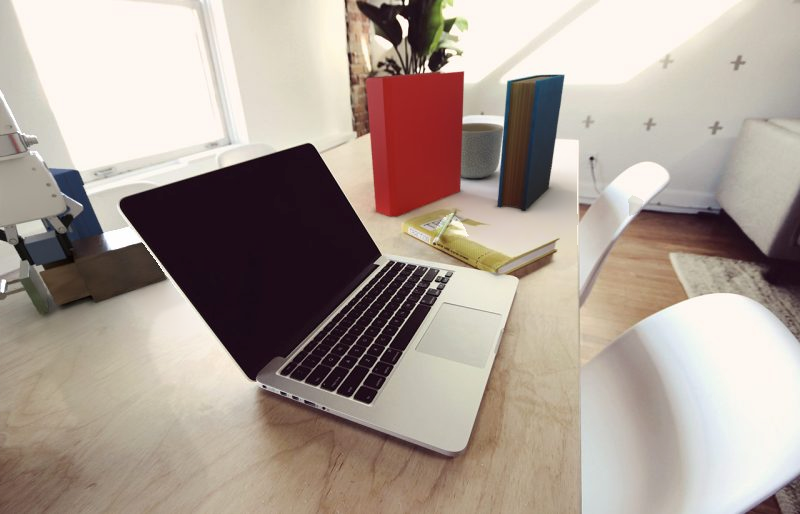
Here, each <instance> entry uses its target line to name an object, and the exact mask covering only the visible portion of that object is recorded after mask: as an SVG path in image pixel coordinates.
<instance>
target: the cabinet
mask: <svg viewBox="0 0 800 514" xmlns="http://www.w3.org/2000/svg"><path fill="white" fill-rule="evenodd" d="M130 227H131V226H127V227H123V228H119V229H115V230H111V231H107V232H104V233H103V234H99V235H95V236H91V237H87V238H83V239H79V240H75V241H71V242H72V245H73V247H74V248H71V249H72V253H73V257H74V261H75V263H76V265H77V267H78V269H79V271H80V273H81V275H82V277H83V279H84V281H85V283H86V285H87V287H88V289H89V291H90V293H91V295H90V296H91V298H92V299H93V302H94V303H98V302H101V301H104V300H107V299H111V298H113V297H116V296H119V295H122V294H125V293H128V292H131V291H134V290H137V289H141V288H143V287H146V286H150V285H153V284H155V283H159V282H161V281H164V280H167V276H166V274H164V273H165V271H164V272H163V271H162V269H161V268H160V266H159V265H158V263H157V262H156V260H155V259H154V258H153V256H152V255H151V254H150V252H149V251H148V250H147V248H146V247H145V245H144V244H143V243H142V242H141V240H140V239H139V238H138V236H137V235H136V234H135V232H134V231H133V230H132V229H131V228H130Z"/></svg>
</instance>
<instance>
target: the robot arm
mask: <svg viewBox="0 0 800 514" xmlns="http://www.w3.org/2000/svg"><path fill="white" fill-rule="evenodd" d="M1 90H2V89H0V241H2V242H4V243H8V245H11V246H13V248H14V250H15V251H16V253H17V254H18V256H19V258H20V260H22V261H25V260H27V261H28V262H29V264H30V266H32V265H33V266H36V265H35V263H34V261H33V259H32V258H31V256H30V254H29V252H28V250H27V249H26V247H25V245H24V240H25V238H24V237H23V236H22V235H20V234H19V231H18V228H17V227H18V226H17V225H20V224H24V223H29V222H35V221H38V220H41V219H44V218H47V219H48V220H49V222H50V223H51V224H52V225H53V226H54V228H55V234H56V237H57V239H58V241H59V243H60V245H61V247H62V249H63V251H64V253H65V255H67V256H69V255H71V252H70V249H71V248H74V247H73V245H72V242H71V240H70V238H69V236H68V234H67V232H66V231H67V228H68V227H69V225H70V224H71V222H72V221H73V219H74V218H75V217H76V216H77V215H78V214H79V213H80V212H82V211H83V206H82V205H81V204H79V203H78V202H76V201H75V200H73V199H71V198H70V197H68V196H67V195H65V194H63V193H62V192H61V190H60V188H59V186H58V184H57V183H56V181H55V179H54V177H53V175H52V173H51V172H50V170H49V168H50V167H48V166H47V163H46V161H44V159H43V158H42V156H41V155H40V154H39V153H38V151H36V150H30V148H31V146H34V145H37V144H39V140H38V138H37V136H36V135H35V134H30V135H29V134H25V133H22V131H21V129H20V127H19V125H18V123H17V122H16V120H15V117H14V115H13V113H12V110H11V109H10V107H9V105H8V103H7V101H6V99H5V97H4V94H3V93H2V91H1ZM66 205H67V206H68V207H70V209H69V210H68V211H67V212H66V213H65V214H64V215H63V216H62V218H60V217H59V216H58V215H60V214H62V213H64V212H65V211H66V209H67V207H66ZM1 228H2V229H1Z"/></svg>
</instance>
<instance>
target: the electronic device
mask: <svg viewBox="0 0 800 514" xmlns="http://www.w3.org/2000/svg"><path fill="white" fill-rule="evenodd" d="M48 168H49V170H50V172H51V173H52V175H53V177H54V179H55V181H56V183H57V184H58V186H59V188H60V190H61V192H62V193H63V194H65V195H67V196H68V197H70V198H71V199H73V200H75V201H76V202H78V203H79V204H81V205H82V206H83V211H82V212H80V213H79V214H78V215H77V216H76V217H75V218H74V219H73V221H72V222H71V224H70V225H69V227H68V228H67V231H66V232H67V234H68V236H69V238H70V240H71V241H75V240H79V239H83V238H87V237H91V236H95V235H99V234H103V233H105V232H104V230H103V228H102V226H101V224H100V221H99V218H98V216H97V214H96V212H95V209H94V207H93V205H92V203H91V201H90V198H89V196H88V194H87V193H88V192H87V191H86V189H85V187H84V186H85V182H84V180H83V178H82V175H81V173H80V171H79V170H77V169H75V168H74V169H73V168H53V167H48ZM66 207H67V209H66V211H65V212H64V213H62V214H60V215H58V216H59V217H60V218H62V216H63V215H64V214H65V213H66V212H67V211H68V210H69V209H70V207H68V206H67V205H66ZM40 221H41V222H42V225H43V227H44V228H45V230H46V232H49V231H53V230H55V228H54V226H53V225H52V224H51V223H50V222H49V220H48V219H47V218H44V219H40Z"/></svg>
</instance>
